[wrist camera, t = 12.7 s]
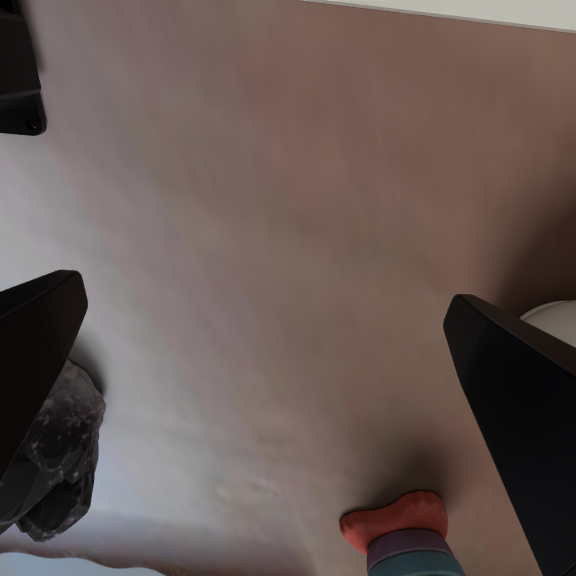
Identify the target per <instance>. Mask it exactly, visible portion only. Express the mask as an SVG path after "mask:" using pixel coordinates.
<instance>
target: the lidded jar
mask: <svg viewBox="0 0 576 576" xmlns="http://www.w3.org/2000/svg"><path fill="white" fill-rule="evenodd" d="M519 319H521V320H523V321H525V322H527V323H529V324H531V325H533V326H535V327H537V328H539V329H541V330H543V331H545V332H547V333H548V334H550V335H552V336H554V337H556V338H558V339H560V340H562V341H564V342H566V343H568V344H570V345H572V346H574V347H576V300H572V301H566V300H563V301H554V302H549V303H546V304H542V305H540V306H538V307H535V308H533V309H531V310H529V311H528V312H526V313H525V314H523V315H522V316H520V317H519Z"/></svg>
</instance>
